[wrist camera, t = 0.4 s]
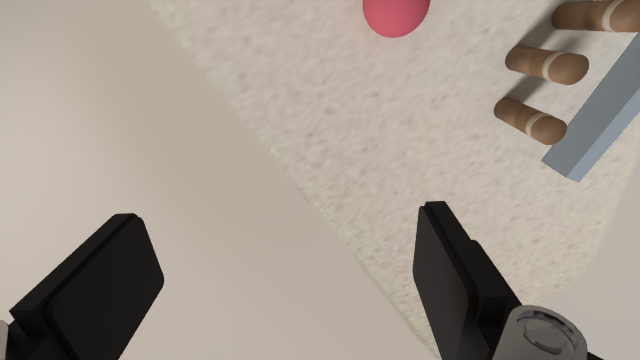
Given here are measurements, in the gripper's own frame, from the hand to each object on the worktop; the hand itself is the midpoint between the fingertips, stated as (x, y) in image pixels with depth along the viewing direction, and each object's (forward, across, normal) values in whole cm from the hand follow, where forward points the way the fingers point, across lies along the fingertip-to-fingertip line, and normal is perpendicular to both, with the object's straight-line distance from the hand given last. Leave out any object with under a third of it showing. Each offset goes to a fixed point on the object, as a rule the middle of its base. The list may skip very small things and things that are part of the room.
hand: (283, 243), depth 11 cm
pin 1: (+27, -22, +3) cm, 35 cm away
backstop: (+27, -32, +3) cm, 42 cm away
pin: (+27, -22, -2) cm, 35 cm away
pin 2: (+27, -26, -6) cm, 38 cm away
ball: (+24, -8, -8) cm, 27 cm away
